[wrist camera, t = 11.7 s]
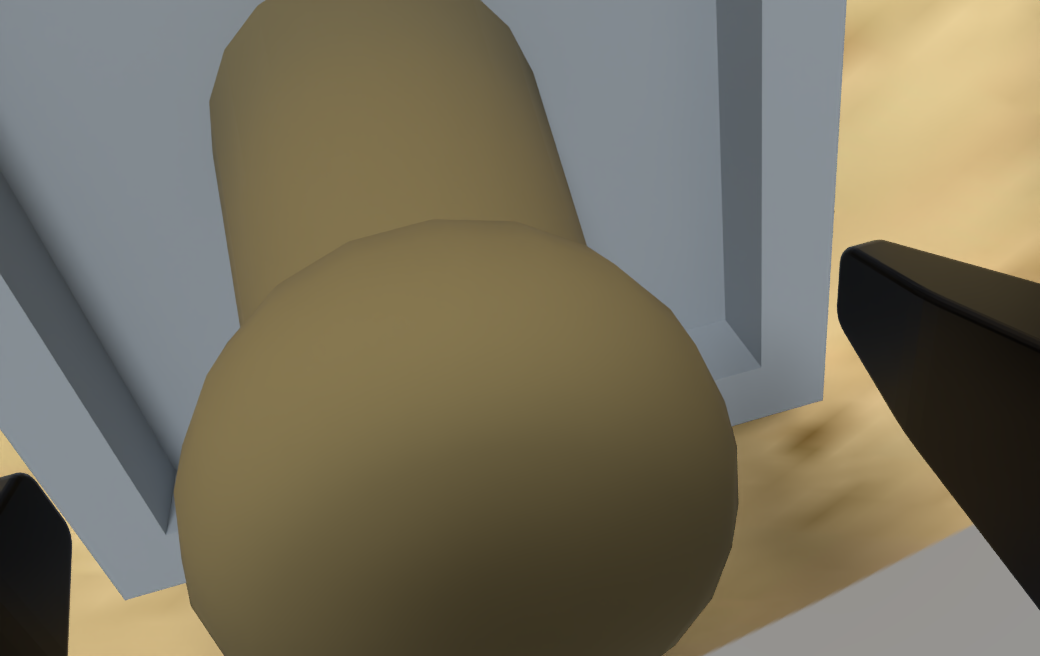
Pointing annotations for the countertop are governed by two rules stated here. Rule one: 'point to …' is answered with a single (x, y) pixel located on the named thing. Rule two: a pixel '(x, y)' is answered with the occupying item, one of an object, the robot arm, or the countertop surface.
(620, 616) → the cork
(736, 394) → the tray
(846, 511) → the countertop surface
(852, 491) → the countertop surface
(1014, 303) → the robot arm
